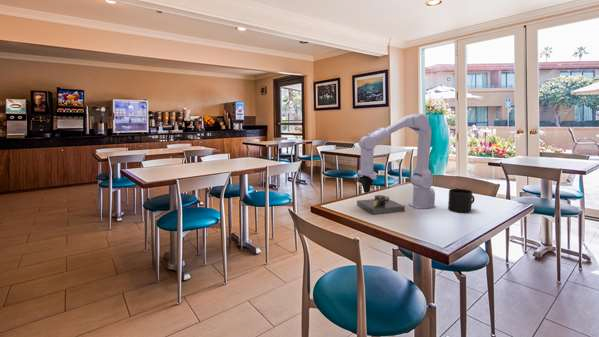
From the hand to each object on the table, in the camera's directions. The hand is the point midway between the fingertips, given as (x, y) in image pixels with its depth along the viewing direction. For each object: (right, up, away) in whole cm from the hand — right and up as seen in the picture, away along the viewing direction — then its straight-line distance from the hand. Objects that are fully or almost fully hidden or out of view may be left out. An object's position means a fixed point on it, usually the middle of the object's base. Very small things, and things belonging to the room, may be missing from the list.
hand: (366, 192), depth 147 cm
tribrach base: (+7, -8, +4) cm, 11 cm away
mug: (+44, -8, -1) cm, 44 cm away
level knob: (+6, -6, +1) cm, 8 cm away
